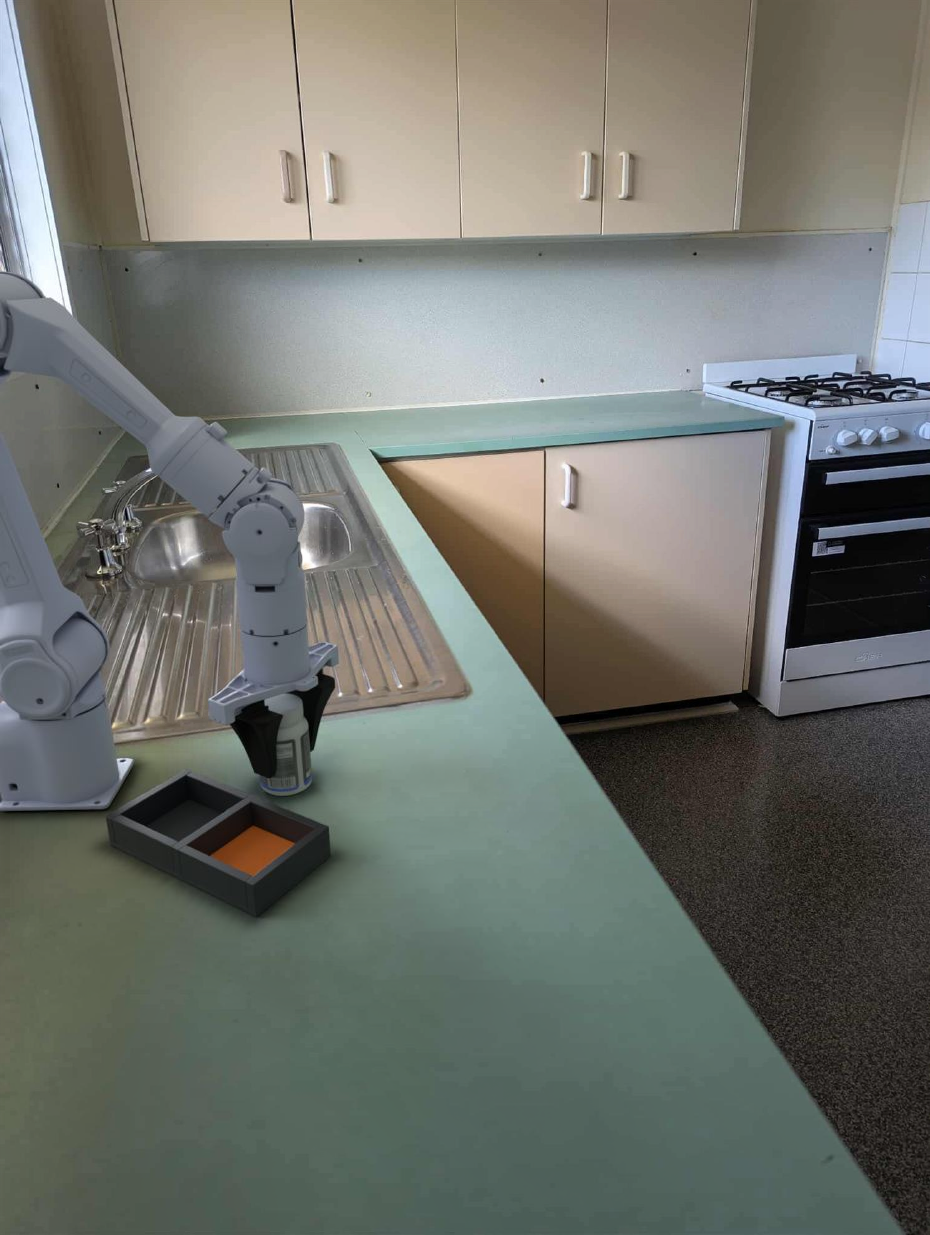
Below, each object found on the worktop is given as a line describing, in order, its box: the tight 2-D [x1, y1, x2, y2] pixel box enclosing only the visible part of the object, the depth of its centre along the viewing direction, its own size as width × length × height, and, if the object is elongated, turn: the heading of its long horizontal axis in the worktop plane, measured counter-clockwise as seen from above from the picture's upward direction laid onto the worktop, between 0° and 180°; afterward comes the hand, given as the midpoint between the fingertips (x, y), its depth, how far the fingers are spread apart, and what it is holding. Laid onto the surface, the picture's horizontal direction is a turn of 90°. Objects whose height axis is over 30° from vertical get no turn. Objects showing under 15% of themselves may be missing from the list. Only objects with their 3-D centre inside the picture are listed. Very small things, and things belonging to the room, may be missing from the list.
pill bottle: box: [259, 693, 313, 797], centre depth 80 cm, size 5×5×8 cm
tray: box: [105, 768, 332, 918], centre depth 71 cm, size 16×9×3 cm, turn 59°
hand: (284, 761), depth 80 cm, fingers closed on pill bottle, 5 cm apart
